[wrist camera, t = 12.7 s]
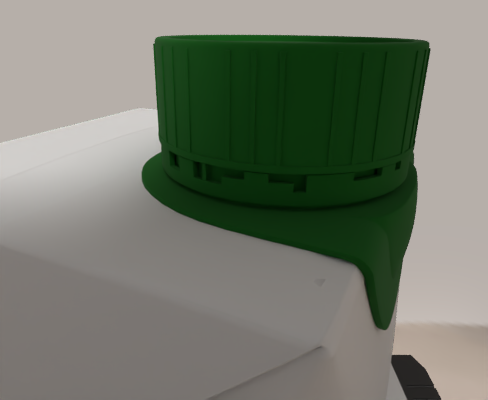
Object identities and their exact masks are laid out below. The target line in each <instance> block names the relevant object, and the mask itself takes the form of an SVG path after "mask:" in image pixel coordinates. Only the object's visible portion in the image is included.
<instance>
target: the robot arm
mask: <svg viewBox="0 0 488 400" xmlns="http://www.w3.org/2000/svg"><path fill="white" fill-rule="evenodd" d="M386 400H441V398H440V396H439V394H438V392H437V390H436V388H434V384H433V383H432V381H431V379H430V377H429V375H428V373H427V371H426V369H425V368H424V367H423V366H422V365H421V364H419V363H418V362H417V361H416V360H415V359H414V358H413V357H412V356H411V355H392V357H391V364H390V372H389V380H388V388H387V395H386Z"/></svg>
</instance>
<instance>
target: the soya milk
mask: <svg viewBox="0 0 488 400" xmlns="http://www.w3.org/2000/svg"><path fill="white" fill-rule="evenodd" d="M153 45H154V62H155V79H156V96H157V109H147V108H138V109H134V110H129V111H125V112H122V113H117V114H113V115H109V116H105V117H102V118H98V119H93V120H90V121H86V122H82V123H78V124H74V125H70V126H66V127H62V128H58V129H54V130H50V131H46V132H42V133H38V134H34V135H30V136H26V137H22V138H18V139H14V140H10V141H6V142H2V143H0V400H386V395H387V388H388V380H389V372H390V364H391V357H392V350H393V342H394V333H395V323H396V312H397V302H398V292H399V282H400V276H401V269H402V262H403V257H404V255H405V251H406V249H407V246H408V243H409V240H410V237H411V233H412V229H413V225H414V219H415V213H416V204H417V190H418V188H417V187H418V183H417V171H416V168H415V167H414V165H413V164H414V153H413V150H414V145H415V137H416V131H417V125H418V119H419V113H420V108H421V101H422V96H423V90H424V84H425V78H426V72H427V67H428V60H429V55H430V48H429V42H427V41H424V40H414V39H399V38H377V37H344V36H297V35H296V36H295V35H180V36H179V35H178V36H161V37H157V38H156V39H155V44H153Z"/></svg>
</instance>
